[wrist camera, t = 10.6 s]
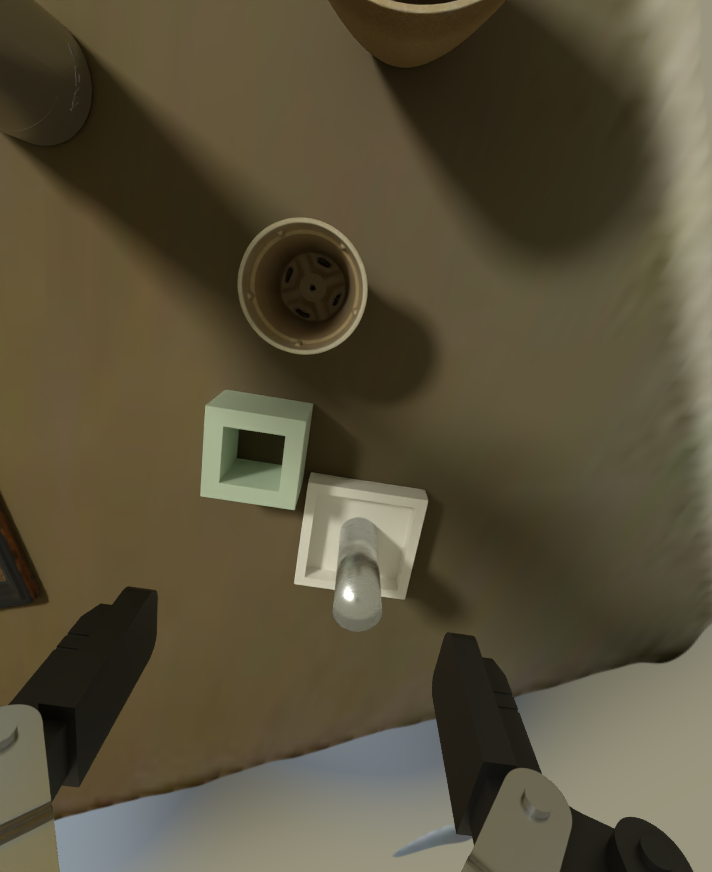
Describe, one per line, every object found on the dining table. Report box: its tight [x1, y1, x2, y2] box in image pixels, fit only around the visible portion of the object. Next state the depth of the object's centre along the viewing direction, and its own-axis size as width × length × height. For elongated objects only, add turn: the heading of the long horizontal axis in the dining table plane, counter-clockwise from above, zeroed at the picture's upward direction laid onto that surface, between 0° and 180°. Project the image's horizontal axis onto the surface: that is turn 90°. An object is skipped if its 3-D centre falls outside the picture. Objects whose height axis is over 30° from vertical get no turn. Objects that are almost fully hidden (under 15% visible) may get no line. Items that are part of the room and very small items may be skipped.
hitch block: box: [200, 390, 313, 510], centre depth 43 cm, size 9×9×6 cm
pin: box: [333, 517, 382, 631], centre depth 42 cm, size 4×4×12 cm
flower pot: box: [238, 218, 368, 355], centre depth 37 cm, size 9×9×9 cm
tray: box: [294, 472, 428, 600], centre depth 48 cm, size 12×12×2 cm
